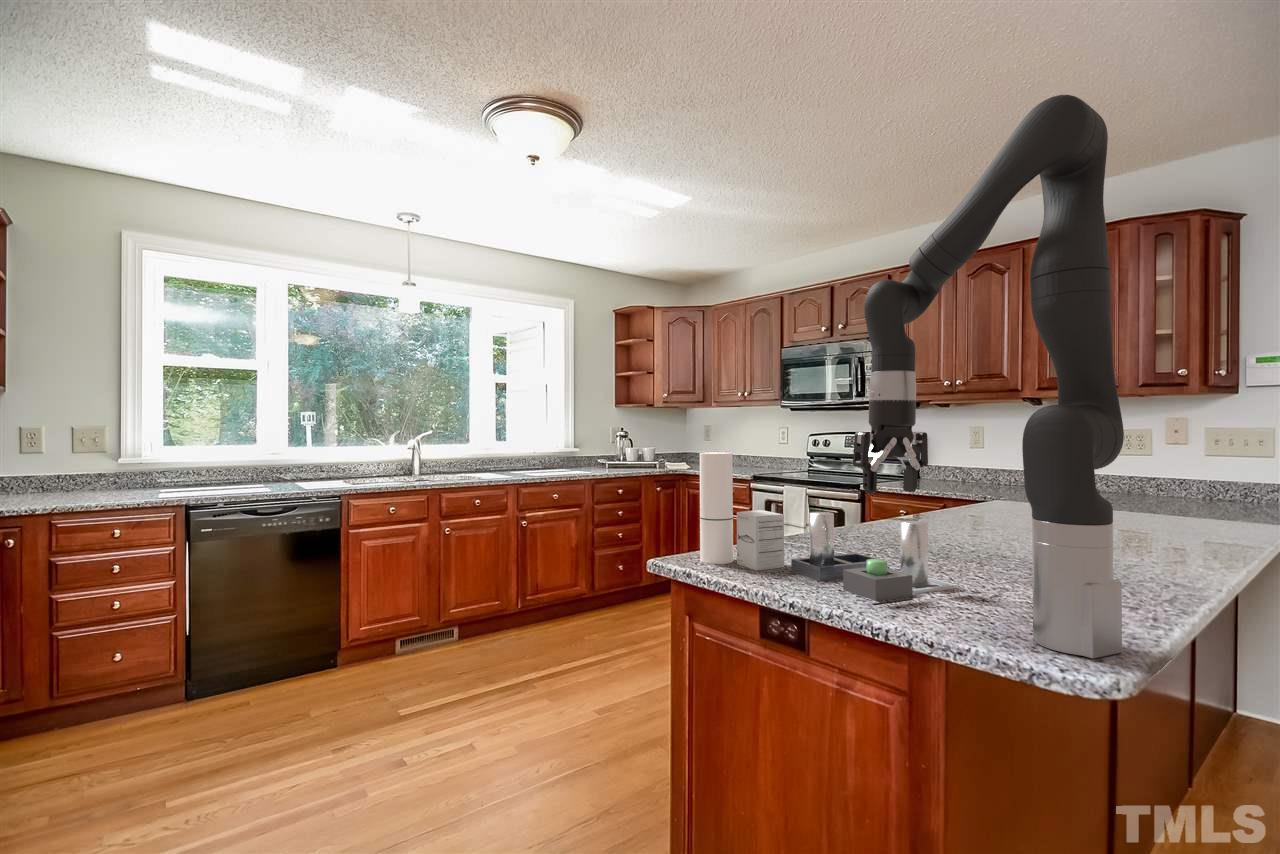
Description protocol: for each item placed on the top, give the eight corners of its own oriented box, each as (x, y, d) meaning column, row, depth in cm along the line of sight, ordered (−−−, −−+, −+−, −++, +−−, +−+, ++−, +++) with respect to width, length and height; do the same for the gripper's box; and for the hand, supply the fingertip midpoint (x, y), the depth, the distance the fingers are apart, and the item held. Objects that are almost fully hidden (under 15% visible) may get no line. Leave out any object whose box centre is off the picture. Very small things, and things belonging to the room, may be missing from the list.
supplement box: (735, 570, 134) (735, 511, 134) (764, 567, 137) (763, 509, 137) (756, 578, 127) (755, 515, 127) (785, 574, 130) (785, 513, 130)
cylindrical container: (732, 563, 140) (731, 452, 140) (734, 571, 133) (733, 453, 133) (700, 563, 141) (699, 452, 141) (700, 570, 134) (699, 453, 134)
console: (912, 604, 107) (912, 575, 107) (875, 609, 104) (875, 579, 104) (878, 593, 114) (878, 566, 114) (843, 598, 111) (843, 569, 111)
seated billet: (839, 575, 122) (838, 514, 122) (819, 578, 120) (819, 515, 120) (824, 570, 126) (823, 511, 126) (805, 573, 124) (804, 512, 124)
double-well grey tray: (886, 581, 123) (886, 561, 123) (820, 589, 117) (819, 568, 117) (855, 571, 132) (855, 552, 132) (791, 578, 126) (791, 559, 126)
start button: (891, 579, 108) (891, 562, 108) (876, 581, 107) (876, 563, 107) (877, 575, 111) (877, 558, 111) (862, 577, 110) (862, 560, 110)
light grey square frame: (957, 596, 112) (957, 585, 112) (914, 602, 108) (914, 590, 108) (914, 583, 121) (914, 573, 121) (873, 588, 118) (873, 578, 118)
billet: (933, 589, 114) (933, 523, 114) (914, 592, 112) (914, 525, 112) (914, 583, 118) (913, 520, 118) (895, 586, 116) (894, 521, 116)
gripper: (874, 397, 102) (872, 496, 102) (941, 398, 107) (939, 493, 107) (844, 398, 109) (842, 491, 109) (908, 399, 114) (906, 488, 114)
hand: (890, 492), depth 108 cm, fingers open, 8 cm apart
